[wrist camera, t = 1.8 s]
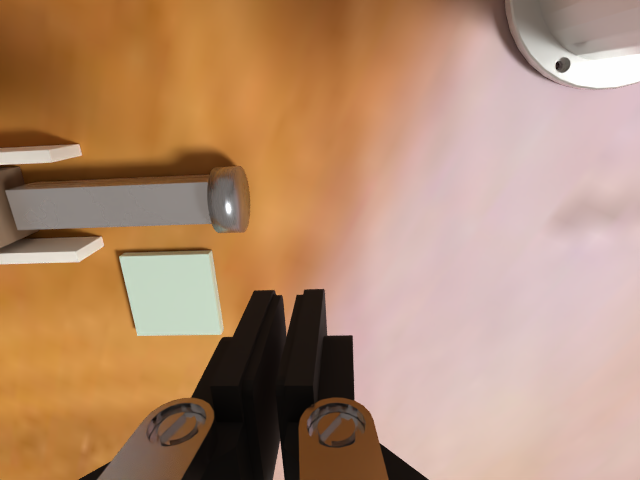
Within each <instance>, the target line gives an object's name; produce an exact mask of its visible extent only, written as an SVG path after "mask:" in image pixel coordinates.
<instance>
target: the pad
mask: <svg viewBox="0 0 640 480" xmlns="http://www.w3.org/2000/svg"><path fill="white" fill-rule="evenodd" d="M119 259H120V263H121V267H122V272H123V276H124V280H125V284H126V289H127V293H128V297H129V302H130V306H131V310H132V314H133V319H134V323H135V327H136V331H137V336H152V335H221V334H222V332H223V330H224V327H223V321H222V314H221V308H220V301H219V294H218V288H217V281H216V275H215V268H214V261H213V255H212V250H203V251H168V252H133V253H123V254H122V255H120V256H119Z"/></svg>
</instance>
